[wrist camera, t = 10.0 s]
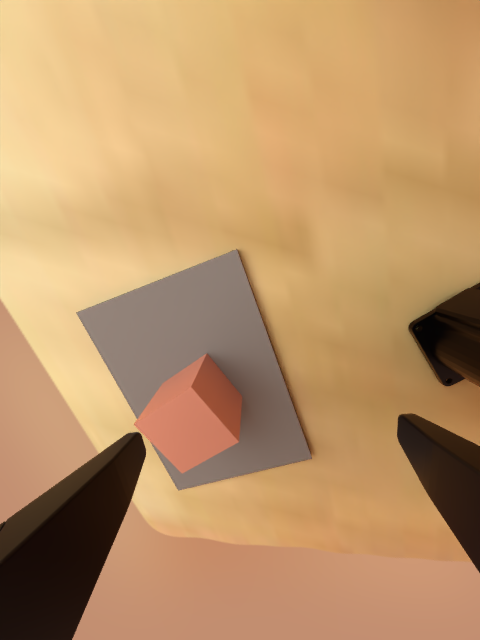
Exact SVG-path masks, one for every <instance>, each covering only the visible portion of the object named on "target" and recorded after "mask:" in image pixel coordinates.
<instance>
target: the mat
mask: <svg viewBox="0 0 480 640" xmlns="http://www.w3.org/2000/svg"><path fill="white" fill-rule="evenodd" d="M77 315H78V317H79V319H80V320H81V322H82V324H83V325H84V327H85V329H86V331H87V332H88V334H89V336H90V338H91V339H92V341H93V343H94V345H95V346H96V348H97V350H98V352H99V353H100V355H101V357H102V359H103V360H104V362H105V364H106V365H107V367H108V369H109V371H110V372H111V374H112V376H113V378H114V379H115V381H116V383H117V385H118V386H119V388H120V390H121V392H122V393H123V395H124V397H125V399H126V400H127V402H128V404H129V406H130V407H131V409H132V411H133V412H134V414H135V416H136V418H137V419H138V418H139V416H140V415H141V413H142V412H143V410H144V409H145V408H146V406H147V405H148V403H149V402H150V401H151V399H152V398H153V396H154V395H155V393H156V392H157V391H158V389H159V388H160V386H161V385H162V383H164V382H165V381H167V380H168V379H170V378H171V377H173V376H174V375H176V374H177V373H178V372H180V371H181V370H183V369H184V368H186V367H187V366H189V365H190V364H192V363H193V362H195V361H196V360H198V359H199V358H200V357H202V356H203V355H205V354H206V353H207V354H208V355H209V356H210V358H211V359H212V360H213V361H214V363H215V364H216V365H217V366H218V367H219V369H220V370H221V371H222V372H223V374H224V375H225V376H226V377H227V378H228V380H229V381H230V382H231V383H232V385H233V386H234V387H235V388H236V389H237V391H238V392H239V393H240V394H241V395H242V407H241V421H240V435H239V442H238V443H236V444H235V445H233V446H231V447H229V448H227V449H226V450H224V451H222V452H220V453H218V454H217V455H215V456H213V457H211V458H209V459H208V460H206V461H204V462H202V463H200V464H199V465H197V466H195V467H193V468H191V469H190V470H188V471H186V472H184V473H181V472H180V471H179V470H178V469H177V468H176V467H175V466H174V465H173V464H172V463H171V462H170V461H169V460H168V459H167V458H166V457H165V456H164V455H163V454H162V453H161V452H160V451H159V450H158V449H157V448H156V447H155V446H154V445H153V444H152V443H151V444H152V446H153V447H154V449H155V451H156V452H157V454H158V456H159V458H160V459H161V461H162V463H163V465H164V466H165V468H166V470H167V472H168V473H169V475H170V477H171V479H172V480H173V482H174V484H175V486H176V487H177V489H178V490H182V489H187V488H191V487H195V486H199V485H203V484H208V483H212V482H216V481H220V480H224V479H228V478H233V477H237V476H241V475H245V474H249V473H254V472H258V471H262V470H266V469H270V468H274V467H279V466H283V465H287V464H291V463H295V462H300V461H304V460H308V459H312V457H311V453H310V451H309V448H308V445H307V442H306V439H305V437H304V434H303V431H302V428H301V426H300V423H299V420H298V417H297V414H296V412H295V409H294V406H293V403H292V400H291V398H290V395H289V392H288V389H287V387H286V384H285V381H284V378H283V375H282V373H281V370H280V367H279V364H278V362H277V359H276V356H275V353H274V350H273V348H272V345H271V342H270V339H269V337H268V334H267V331H266V328H265V325H264V323H263V320H262V317H261V314H260V312H259V309H258V306H257V303H256V300H255V298H254V295H253V292H252V289H251V287H250V284H249V281H248V278H247V275H246V273H245V270H244V267H243V264H242V262H241V259H240V256H239V253H238V250H237V249H236V250H234V251H231V252H229V253H226V254H224V255H221V256H219V257H216V258H214V259H211V260H208V261H206V262H203V263H201V264H198V265H196V266H193V267H191V268H188V269H186V270H183V271H181V272H178V273H176V274H173V275H171V276H168V277H165V278H163V279H160V280H158V281H155V282H153V283H150V284H148V285H145V286H143V287H140V288H138V289H135V290H133V291H130V292H127V293H125V294H122V295H120V296H117V297H115V298H112V299H110V300H107V301H105V302H102V303H100V304H97V305H95V306H92V307H90V308H87V309H84V310H82V311H79V312H77Z"/></svg>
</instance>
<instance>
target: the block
mask: <svg viewBox="0 0 480 640" xmlns="http://www.w3.org/2000/svg"><path fill="white" fill-rule="evenodd" d="M241 407H242V395H241V394H240V393H239V392H238V391H237V389H236V388H235V387H234V386H233V385H232V383H231V382H230V381H229V380H228V378H227V377H226V376H225V375H224V374H223V372H222V371H221V370H220V369H219V367H218V366H217V365H216V364H215V363H214V361H213V360H212V359H211V358H210V356H209V355H208V354H207V353H206V354H205V355H203V356H202V357H200V358H199V359H198V360H196V361H195V362H193V363H192V364H190V365H189V366H187V367H186V368H184V369H183V370H181V371H180V372H178V373H177V374H176V375H174V376H173V377H171V378H170V379H168V380H167V381H165V382H164V383H162V385H161V386H160V388H159V389H158V391H157V392H156V393H155V395H154V396H153V398H152V399H151V401H150V402H149V403H148V405H147V406H146V408H145V409H144V410H143V412H142V413H141V415H140V416H139V418H138V419H137V420H136V422H135V423H134V425H135V426H136V427H137V428H138V429H139V430H140V431H141V432H142V433H143V434H144V436H145V437H146V438H147V439H148V440H149V441H150V442H151V443H152V444H153V445H154V446H155V447H156V448H157V449H158V450H159V451H160V452H161V453H162V454H163V455H164V456H165V457H166V458H167V459H168V460H169V461H170V462H171V463H172V464H173V465H174V466H175V467H176V468H177V469H178V470H179V471H180V472H181V473H184V472H186V471H188V470H190V469H191V468H193V467H195V466H197V465H199V464H200V463H202V462H204V461H206V460H208V459H209V458H211V457H213V456H215V455H217V454H218V453H220V452H222V451H224V450H226V449H227V448H229V447H231V446H233V445H235V444H236V443H238V442H239V435H240V421H241Z"/></svg>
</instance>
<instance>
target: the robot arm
mask: <svg viewBox="0 0 480 640" xmlns="http://www.w3.org/2000/svg"><path fill="white" fill-rule="evenodd" d="M418 325H419V328H418V329H416V327H417V326H418ZM409 331H410V332H411V334H412V336H413V338H414V339H415V341H416V343H417V344H418V346H419V348H420V350H421V351H422V353H423V355H424V356H425V358H426V360H427V362H428V363H429V365H430V367H431V368H432V370H433V372H434V374H435V375H436V377H437V379H438V380H439V382H440V383H442V384H443V385H445V386H451V385H453V384H455V383H457V382H459V381H461V380H463V379H465V378H466V379H467V380H469V381H471V382H473V383H474V384H476V385H478V386H479V387H480V283H478V284H477V285H475V286H473V287H471V288H468V289H466V290H464V291H463V292H461V293H459V294H457V295H456V296H454V297H452V298H451V299H449V300H447V301H445V302H444V303H442V304H440V305H439V306H437V307H436V308H435V309H434V310H432V311H430V312H428V313H427V314H425V315H423V316H422V317H420V318H418V319H416V320H415V321H413V322H412V323H410V325H409ZM447 379H448V380H447ZM397 437H398V440H399V443H400V445H401V447H402V448H403V450H404V452H405V454H406V456H407V458H408V459H409V461H410V463H411V465H412V467H413V469H414V470H415V472H416V474H417V476H418V478H419V480H420V481H421V483H422V485H423V487H424V489H425V490H426V492H427V494H428V495H429V497H430V498H431V500H432V502H433V503H434V505H435V506H436V508H437V509H438V511H439V512H440V514H441V515H442V517H443V518H444V520H445V521H446V523H447V524H448V526H449V527H450V529H451V530H452V532H453V533H454V535H455V536H456V538H457V539H458V541H459V542H460V544H461V545H462V547H463V548H464V550H465V552H466V553H467V555H468V556H469V558H470V559H471V561H472V562H473V564H474V565H475V567H476V568H477V569H478V571H479V573H480V446H478V445H476V444H474V443H472V442H470V441H468V440H466V439H464V438H462V437H460V436H458V435H456V434H454V433H452V432H450V431H448V430H446V429H444V428H442V427H440V426H438V425H436V424H434V423H432V422H430V421H428V420H426V419H424V418H422V417H420V416H418V415H415V414H401V415H399V417H398V428H397ZM145 457H146V448H145V445H144V442H143V439H142V436H141V434H140V433H139V432H133V433H128V434H126V435H125V436H123V437H122V438H120V439H119V440H118V441H116V442H115V443H113V444H112V445H111V446H109V447H108V448H106V449H105V450H104V451H102V452H101V453H99V454H98V455H97V456H96V457H94V458H92V459H91V460H90V461H88V462H87V463H85V464H84V465H83V466H81V467H80V468H78V469H77V470H76V471H74V472H73V473H71V474H70V475H69V476H67V477H66V478H64V479H63V480H62V481H60V482H59V483H58V484H56V485H55V486H53V487H52V488H51V489H49V490H48V491H47V492H45V493H43V494H42V495H41V496H39V497H38V498H37V499H35V500H34V501H32V502H31V503H29V504H28V505H27V506H25V507H24V508H22V509H21V510H20V511H18V512H17V513H15V514H14V515H13V516H12V517H10V518H9V519H7V521H6V522H3V523H1V524H0V640H72V638H73V636H74V634H75V631H76V629H77V626H78V624H79V622H80V620H81V617H82V615H83V613H84V610H85V608H86V606H87V603H88V601H89V599H90V596H91V594H92V591H93V589H94V587H95V584H96V582H97V580H98V578H99V575H100V573H101V570H102V568H103V566H104V563H105V561H106V559H107V556H108V554H109V552H110V549H111V546H112V545H113V542H114V540H115V538H116V535H117V533H118V530H119V528H120V526H121V524H122V521H123V519H124V517H125V514H126V512H127V509H128V507H129V504H130V502H131V499H132V496H133V493H134V490H135V487H136V484H137V481H138V478H139V475H140V472H141V469H142V466H143V463H144V460H145Z"/></svg>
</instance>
